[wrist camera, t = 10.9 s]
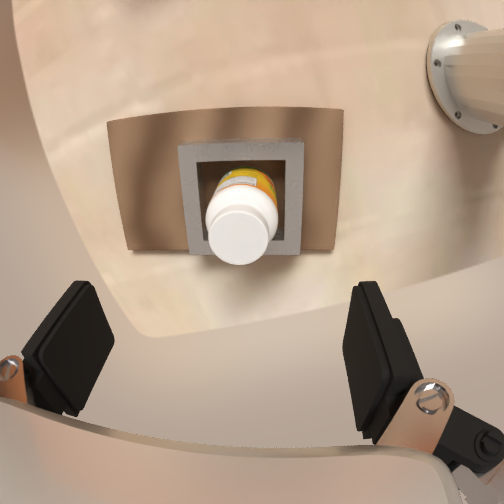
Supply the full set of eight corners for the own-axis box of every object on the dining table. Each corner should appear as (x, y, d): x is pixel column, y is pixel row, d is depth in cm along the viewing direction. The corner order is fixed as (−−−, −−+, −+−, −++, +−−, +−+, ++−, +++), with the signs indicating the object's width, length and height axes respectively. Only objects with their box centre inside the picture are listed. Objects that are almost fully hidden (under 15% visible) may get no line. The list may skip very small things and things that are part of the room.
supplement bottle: (276, 217, 30) (280, 273, 21) (220, 220, 30) (203, 275, 22) (274, 162, 27) (278, 198, 19) (215, 166, 28) (192, 203, 19)
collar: (300, 138, 26) (304, 142, 24) (297, 242, 31) (300, 255, 29) (184, 141, 27) (177, 146, 24) (194, 242, 32) (189, 254, 29)
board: (341, 109, 25) (343, 109, 25) (332, 245, 32) (333, 249, 31) (111, 120, 26) (106, 122, 26) (131, 245, 33) (128, 249, 32)
